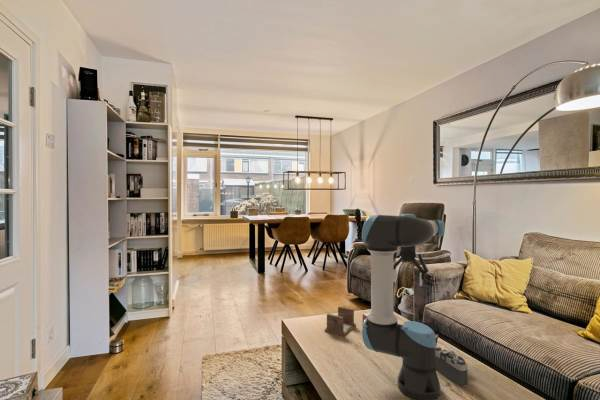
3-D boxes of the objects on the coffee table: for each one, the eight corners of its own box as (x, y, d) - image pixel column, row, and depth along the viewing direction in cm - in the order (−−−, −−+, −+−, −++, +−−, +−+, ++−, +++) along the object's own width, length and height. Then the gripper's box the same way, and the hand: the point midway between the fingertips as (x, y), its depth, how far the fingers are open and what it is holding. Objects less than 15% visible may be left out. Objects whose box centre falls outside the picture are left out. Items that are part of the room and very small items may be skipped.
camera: (479, 382, 124) (479, 357, 124) (460, 388, 120) (460, 362, 120) (447, 363, 138) (447, 340, 138) (429, 367, 135) (429, 344, 135)
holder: (342, 337, 163) (343, 319, 163) (324, 332, 169) (324, 314, 169) (356, 325, 178) (356, 309, 178) (338, 321, 184) (338, 305, 184)
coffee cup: (442, 359, 141) (442, 332, 141) (416, 357, 143) (416, 330, 143) (436, 348, 152) (437, 323, 152) (412, 345, 154) (413, 321, 154)
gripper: (434, 244, 163) (434, 285, 164) (386, 240, 177) (386, 278, 178) (431, 246, 157) (431, 289, 157) (382, 242, 171) (382, 281, 171)
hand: (407, 283), depth 167 cm, fingers open, 13 cm apart
